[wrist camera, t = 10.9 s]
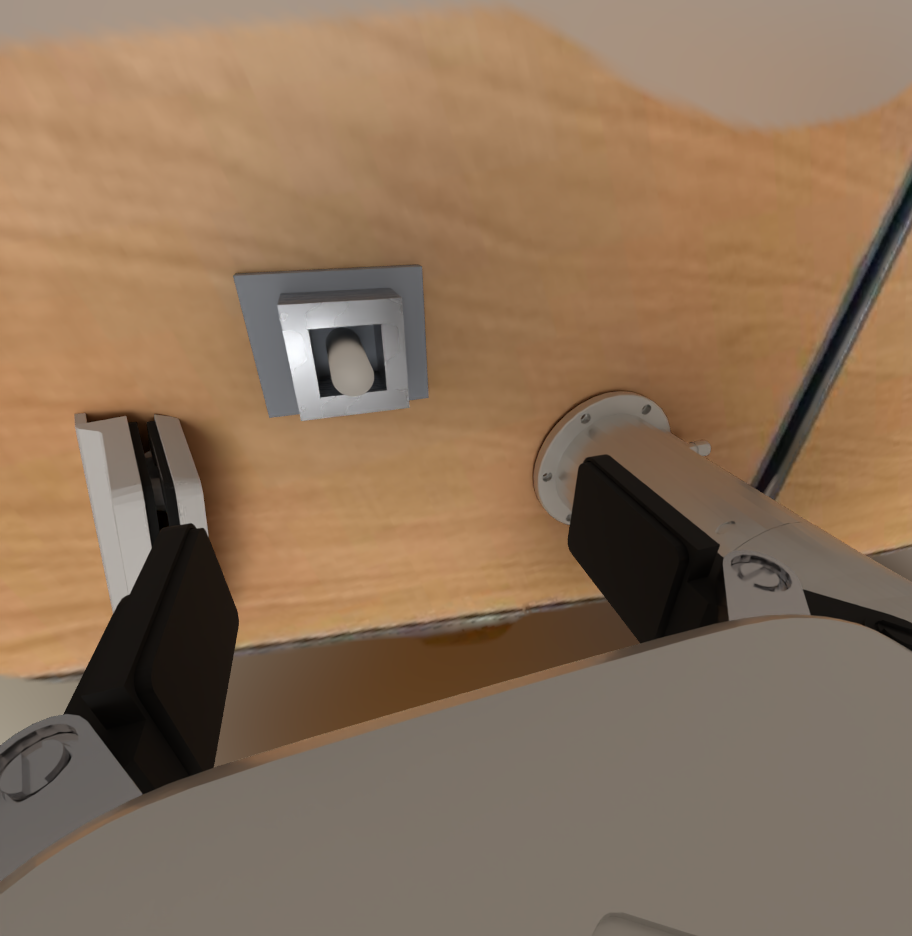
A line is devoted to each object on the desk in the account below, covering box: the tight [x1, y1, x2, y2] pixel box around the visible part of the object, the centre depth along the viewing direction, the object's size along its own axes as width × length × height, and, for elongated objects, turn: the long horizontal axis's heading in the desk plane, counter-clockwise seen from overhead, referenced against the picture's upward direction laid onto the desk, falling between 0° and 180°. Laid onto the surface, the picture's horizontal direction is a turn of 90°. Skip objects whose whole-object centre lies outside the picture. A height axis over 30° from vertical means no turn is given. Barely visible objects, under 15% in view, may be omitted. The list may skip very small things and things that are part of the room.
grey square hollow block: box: [277, 288, 409, 421], centre depth 24 cm, size 6×6×4 cm
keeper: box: [233, 265, 428, 418], centre depth 24 cm, size 10×8×7 cm
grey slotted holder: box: [75, 413, 209, 613], centre depth 26 cm, size 17×5×10 cm, turn 168°
